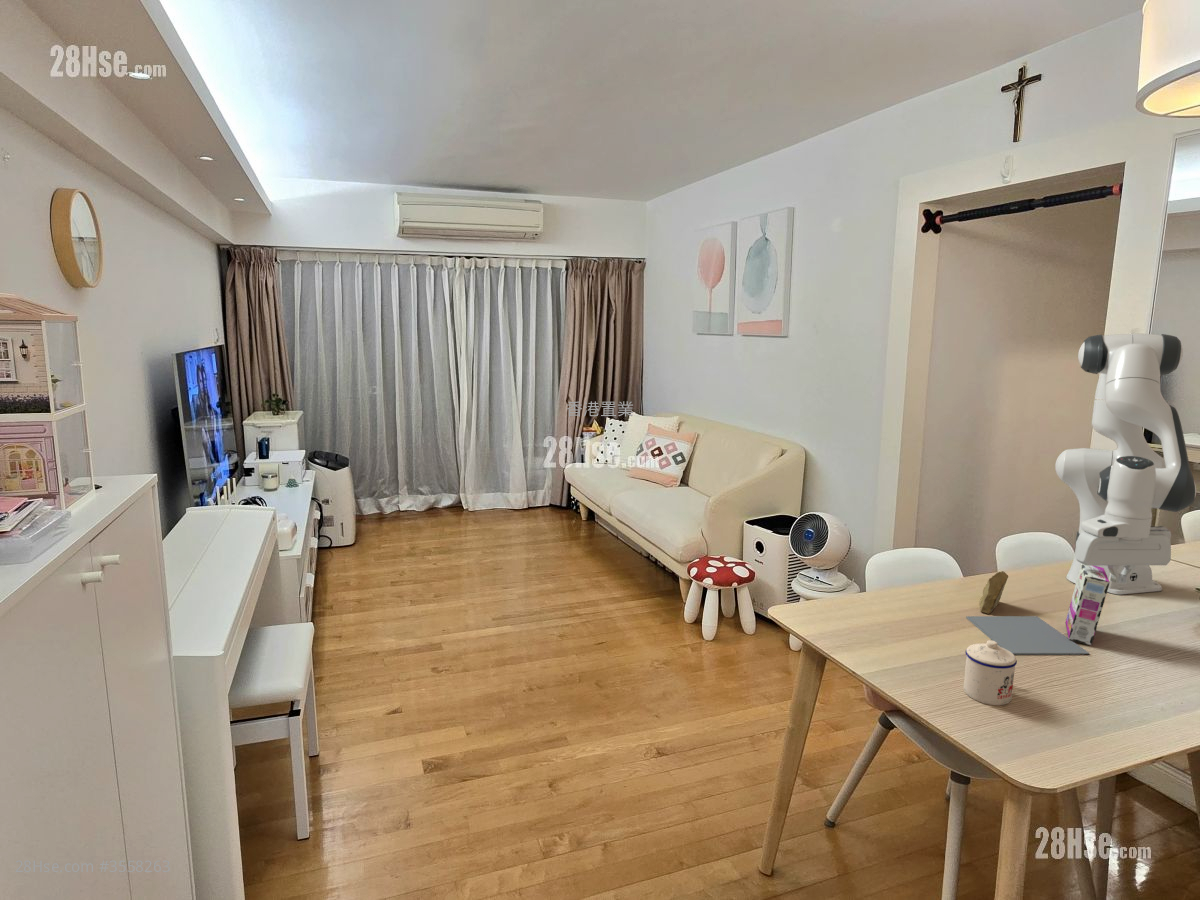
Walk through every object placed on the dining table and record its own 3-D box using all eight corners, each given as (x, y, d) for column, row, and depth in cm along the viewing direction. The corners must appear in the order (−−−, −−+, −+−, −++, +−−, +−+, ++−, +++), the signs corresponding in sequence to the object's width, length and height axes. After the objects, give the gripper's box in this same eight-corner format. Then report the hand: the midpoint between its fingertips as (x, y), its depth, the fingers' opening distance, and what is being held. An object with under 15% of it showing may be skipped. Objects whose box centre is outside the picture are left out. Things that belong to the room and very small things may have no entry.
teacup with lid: (1006, 712, 135) (1012, 657, 133) (956, 695, 141) (961, 642, 139) (1020, 688, 144) (1026, 635, 142) (972, 673, 150) (977, 623, 148)
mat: (1036, 617, 177) (1037, 616, 177) (1089, 654, 157) (1089, 653, 157) (965, 617, 178) (966, 616, 177) (1009, 654, 158) (1009, 653, 158)
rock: (997, 611, 176) (1024, 599, 179) (979, 580, 179) (1005, 569, 182) (967, 621, 185) (993, 610, 189) (950, 591, 188) (976, 581, 192)
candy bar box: (1093, 646, 161) (1110, 582, 157) (1068, 640, 164) (1084, 576, 160) (1088, 628, 171) (1104, 567, 167) (1064, 622, 173) (1080, 561, 169)
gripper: (1161, 522, 165) (1153, 577, 167) (1074, 522, 165) (1067, 577, 168) (1182, 530, 158) (1174, 587, 161) (1092, 530, 159) (1085, 586, 161)
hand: (1119, 582), depth 164 cm, fingers closed
